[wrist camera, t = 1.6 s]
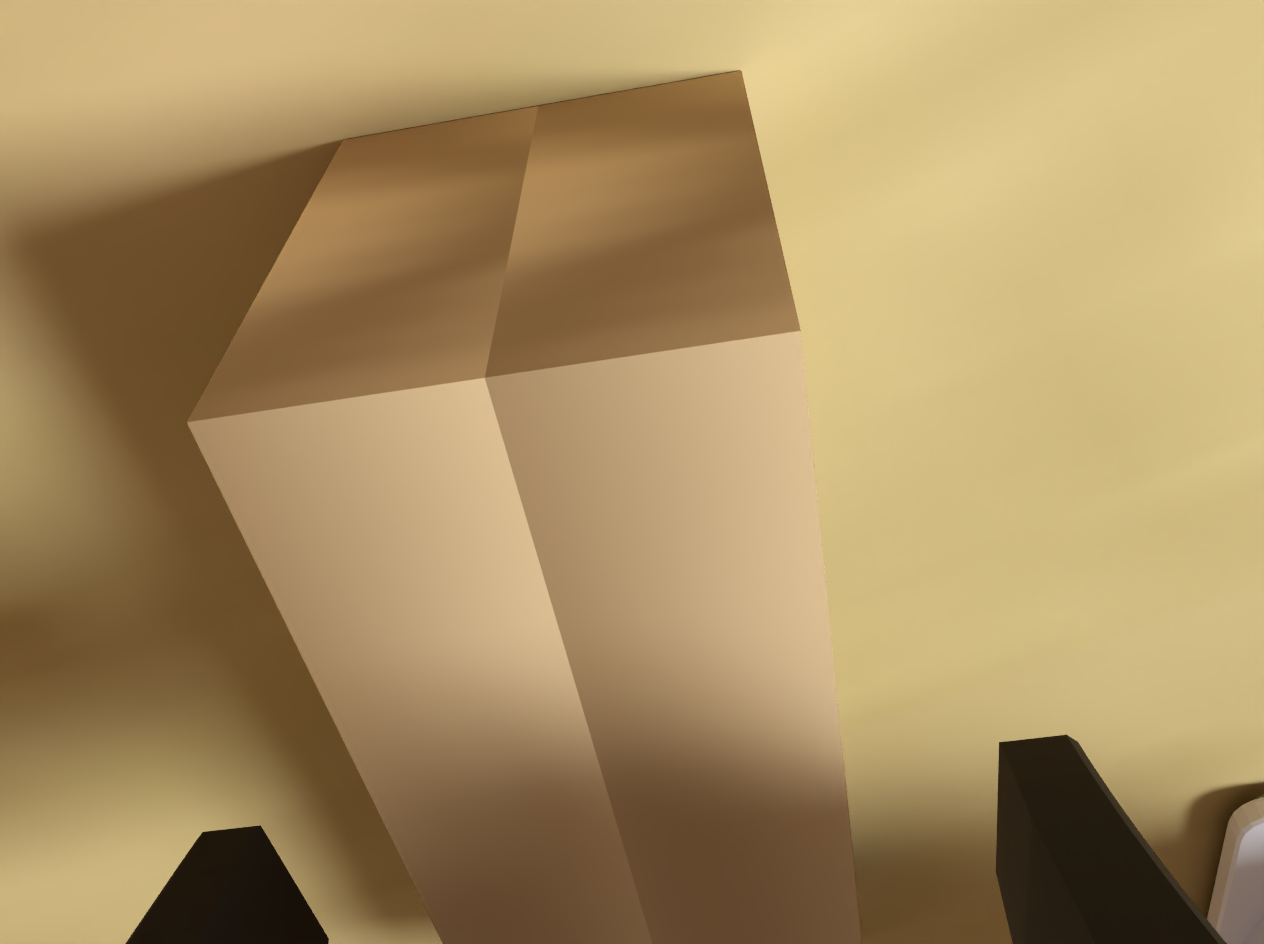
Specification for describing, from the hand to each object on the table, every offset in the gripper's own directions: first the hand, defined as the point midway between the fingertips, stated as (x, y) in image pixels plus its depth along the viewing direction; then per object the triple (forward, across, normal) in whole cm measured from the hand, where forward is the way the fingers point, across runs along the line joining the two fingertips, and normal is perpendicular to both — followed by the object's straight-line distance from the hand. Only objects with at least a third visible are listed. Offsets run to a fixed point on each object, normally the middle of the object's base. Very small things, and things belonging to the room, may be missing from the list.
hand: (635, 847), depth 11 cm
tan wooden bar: (+4, 0, 0) cm, 4 cm away
